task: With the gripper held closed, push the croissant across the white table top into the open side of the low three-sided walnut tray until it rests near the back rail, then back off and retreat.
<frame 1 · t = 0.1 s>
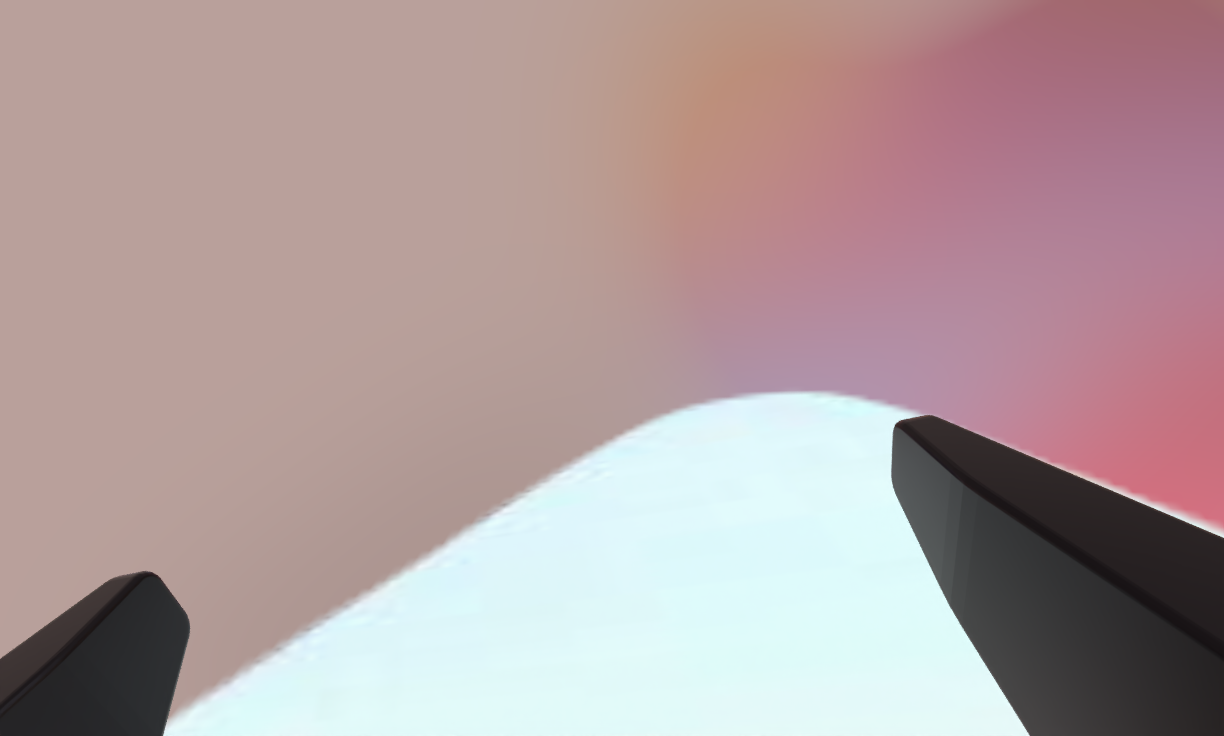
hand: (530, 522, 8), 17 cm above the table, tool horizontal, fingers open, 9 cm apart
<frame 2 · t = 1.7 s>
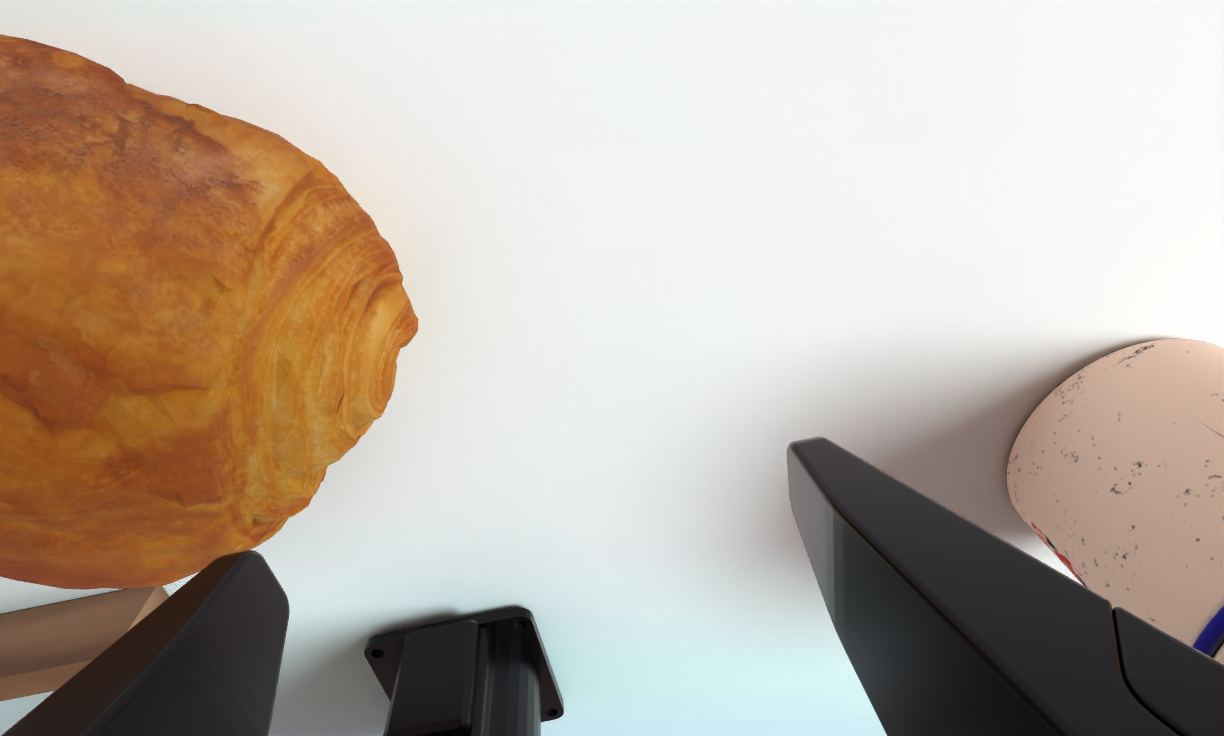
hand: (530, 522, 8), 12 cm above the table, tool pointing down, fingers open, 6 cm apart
teacup with lid: (1149, 439, 25), on the table
croissant: (131, 304, 19), on the table
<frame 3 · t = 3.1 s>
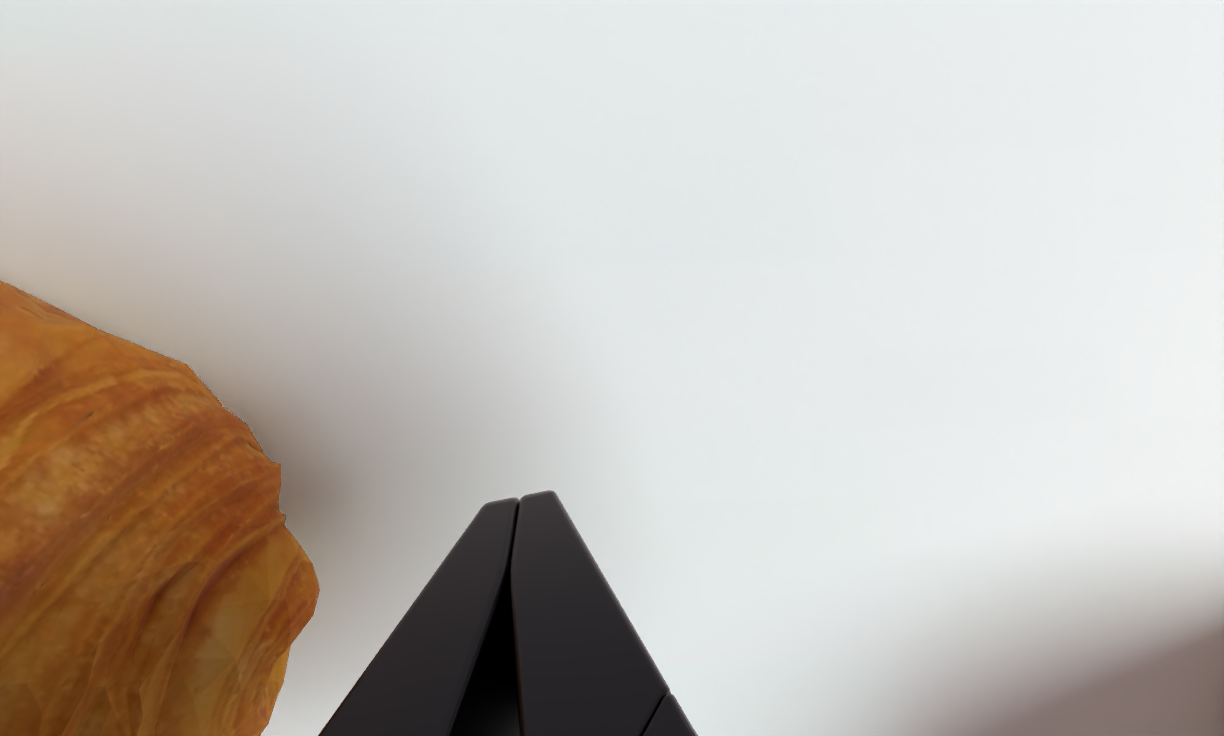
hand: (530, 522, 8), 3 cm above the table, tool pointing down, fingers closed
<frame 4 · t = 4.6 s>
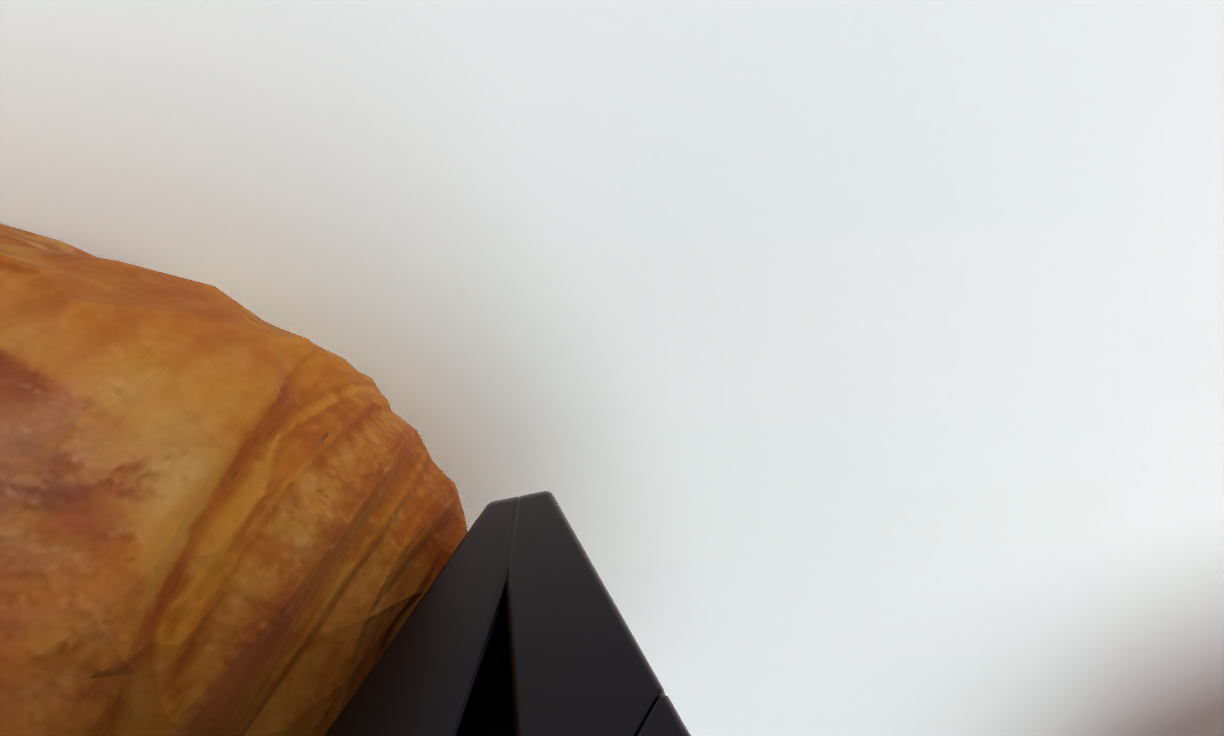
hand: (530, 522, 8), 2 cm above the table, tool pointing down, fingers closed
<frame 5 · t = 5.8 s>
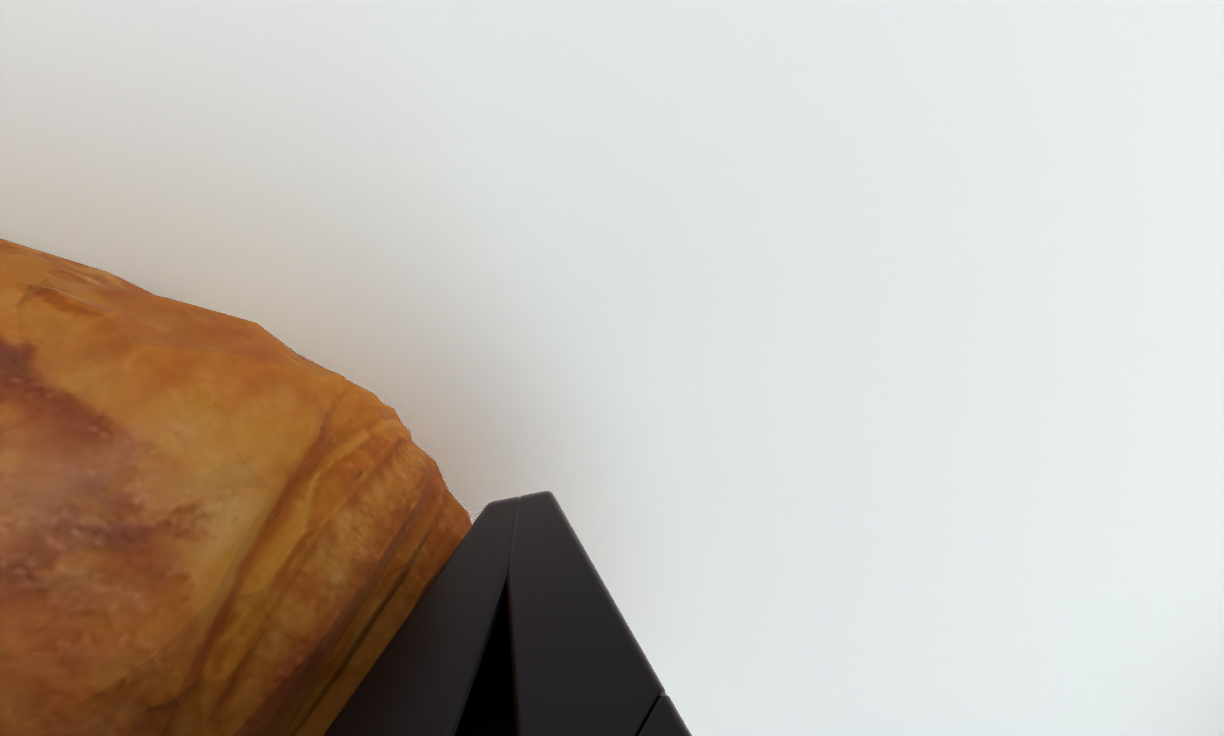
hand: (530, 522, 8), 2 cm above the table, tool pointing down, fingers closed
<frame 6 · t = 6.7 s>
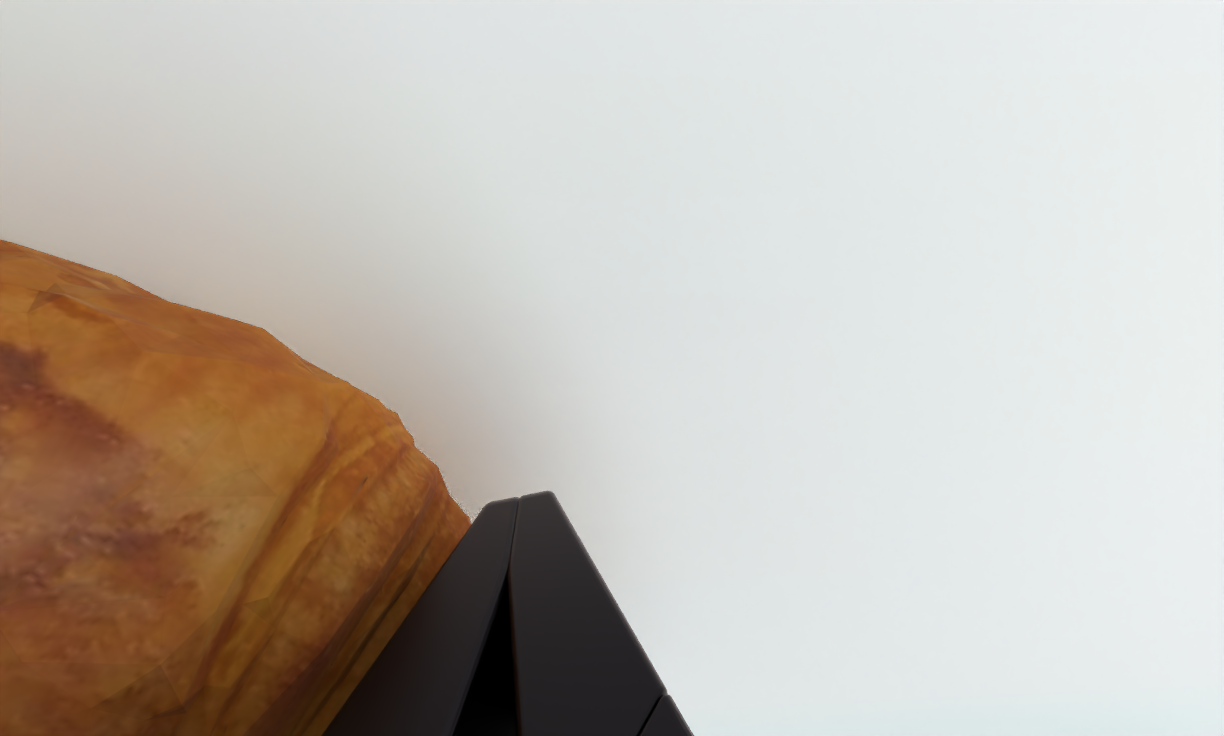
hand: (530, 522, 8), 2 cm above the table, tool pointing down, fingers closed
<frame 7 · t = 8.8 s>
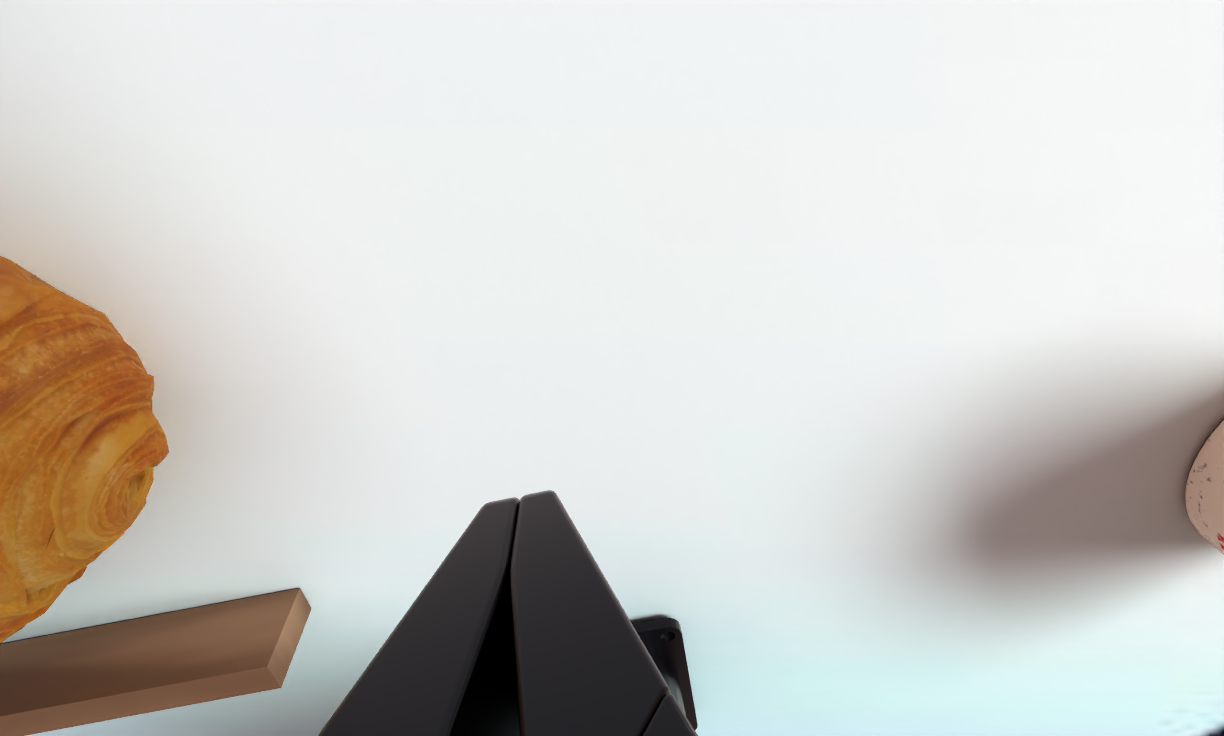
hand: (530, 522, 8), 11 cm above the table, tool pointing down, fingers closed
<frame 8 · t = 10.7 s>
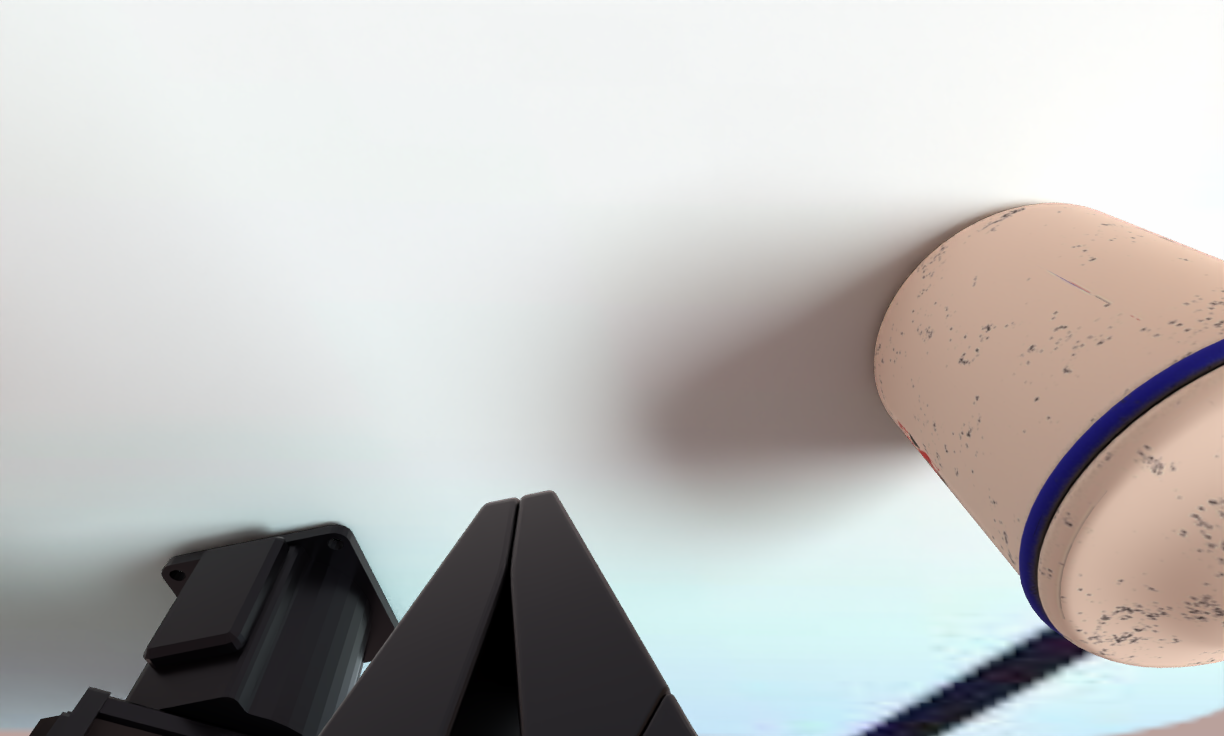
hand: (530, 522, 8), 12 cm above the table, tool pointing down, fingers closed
teacup with lid: (1036, 332, 22), on the table
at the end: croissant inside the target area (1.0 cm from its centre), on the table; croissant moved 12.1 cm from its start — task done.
